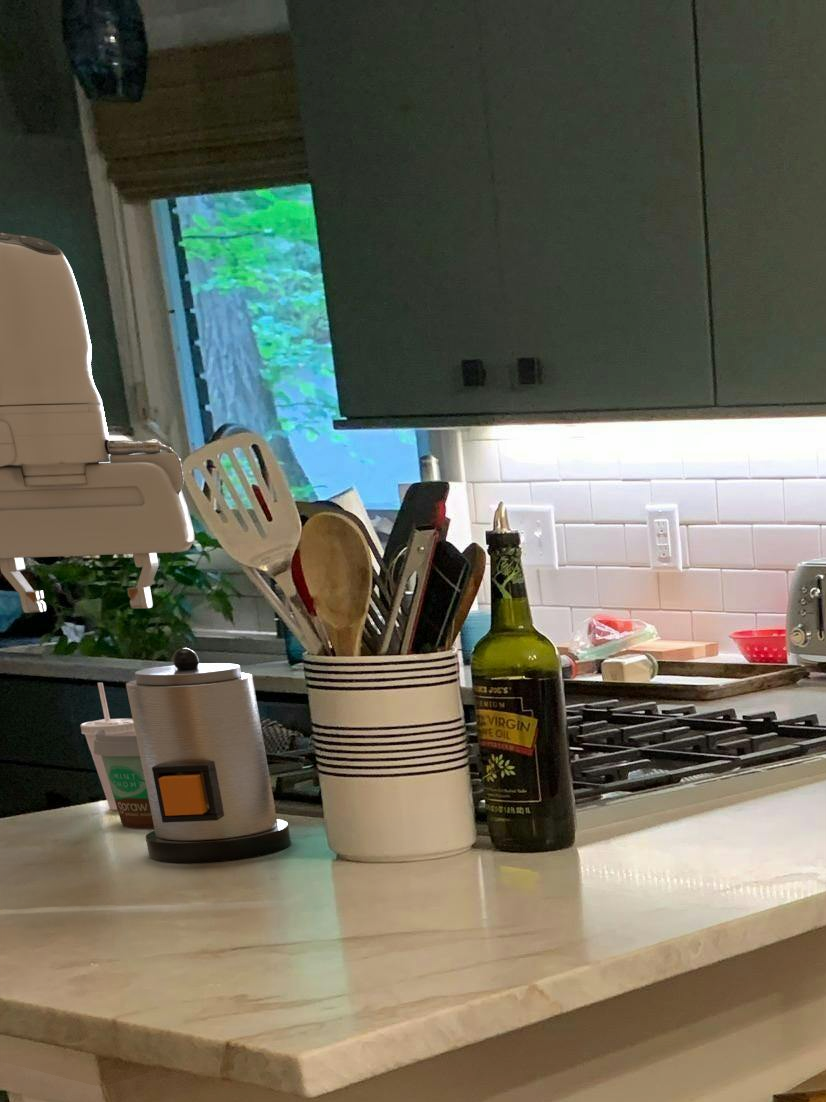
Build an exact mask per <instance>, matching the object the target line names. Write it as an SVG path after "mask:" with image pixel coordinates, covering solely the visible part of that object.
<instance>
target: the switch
mask: <svg viewBox="0 0 826 1102" xmlns="http://www.w3.org/2000/svg"><path fill="white" fill-rule="evenodd" d="M159 784H160V790H161V795H162V800H163V805H164V810H165V815H166V816H172V815H196V814H203V813H205V812H207V811H208V810H207V805H206V799H205V794H204V788H203V783H202V778H201V774H193V775H169V776H163V777H161V778H159Z"/></svg>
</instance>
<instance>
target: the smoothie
mask: <svg viewBox="0 0 826 1102" xmlns="http://www.w3.org/2000/svg"><path fill="white" fill-rule="evenodd" d="M97 688H98V692H99V698H100V702H101V707H102V708H101V709H102V712H103V717H104V718H102V719H97V720H92V721H91V720H90V721H86V722H82V723H81V724H80V731H81V733H80V734H82V735H84V736H85V739H86V743H87V745H88V749H89V751H90V755H91V757H92V760H93V763H94V766H95V769H96V772H97V776H98V779H99V781H100V783H101V787H102V790H103V793H104V796H105V798H106V799H105V800H106V801H107V804H108V808H109V810H111V811H118V810H117V806H116V803H115V800H114V796H113V793H112V790H111V787H110V783H109V780H108V777H107V773H106V770H105V767H104V763H103V760H102V757H101V755H97V754H94V738H96V735H95V732H97V731H99V730H103V729H104V731H105V734H106V736H136V733H135V728H134V723H133V718H111V716H110V713H109V707H108V702H107V699H106V698H107V697H106V692H105V687H104V683H103V682H97Z"/></svg>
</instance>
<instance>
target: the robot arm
mask: <svg viewBox="0 0 826 1102" xmlns="http://www.w3.org/2000/svg"><path fill="white" fill-rule="evenodd" d="M90 338H91V337H90V333H89V327H88V323H87V319H86V314H85V310H84V306H83V301H82V297H81V294H80V290H79V287H78V284H77V281H76V278H75V275H74V273H73V269H72V267H71V265H70V263H69V260H68V259H67V258H66V256H65V254H64V252H63V251H62V250H61V249H60V247H58V246H56V245H55V244H53V243H52V242H50V241H48V240H45V239H43V238H38V237H34V236H29V235H21V234H12V233H6V232H0V572H1V574H2V575H3V577H4V578H5V579H6V580H7V581H8V583H9V584H10V585H11V586H12V587H13V589H14V590H15V591H16V592H17V593H18V595H19V598H20V599H19V600H20V602H21V609H22V610H23V613H25V614H30V613H31V614H33V613H43V612H46V611H47V603H46V602H45V601H44V600H45V595H44V590H41V589H40V590H39V589H33V588H32V585H30V583H29V582H28V580H27V579H26V578H25V576H24V575H23V574H22V573H21V571H25V570H26V565H25V558H50V557H52V558H53V557H54V558H55V557H56V558H57V557H78V556H79V557H81V556H107V555H108V556H109V555H110V556H111V555H133V561H134V566H135V567H136V568H141V571H140V573H139V578H138V580H137V583H136V586H131V587H128V588H126V590H127V595H128V598H130V600H129V605H130V608H131V610H135V609H136V610H138V609H140V610H142V609H151V608H153V606H154V601H153V597H152V592H151V591H152V590H151V586H152V585H153V583H154V579H155V577H156V574H157V571H158V568H159V566H160V565H159V564H160V563H159V560H158V554H165V553H167V554H169V553H183V552H187V551H189V550H190V549H191V547H192V545H193V544H194V542H195V539H196V536H195V531H194V526H193V522H192V518H191V515H190V511H189V507H188V504H187V501H186V497H185V495H184V492H183V488H184V485H185V477H183V476H184V471H183V464H182V462H181V458H180V456H179V455H178V454H177V451H175V450H174V449H173V448H172V447H170V446H168V445H166V444H162V443H161V441H160V440H158V439H143V440H110V437H109V432H108V426H107V422H106V417H105V411H104V406H103V400H102V398H101V395H100V393H99V391H98V389H97V387H96V385H95V382H94V381H95V380H94V379H93V375H92V374H93V373H92V365H91V364H92V363H91V362H92V343H91V339H90ZM163 451H166V452H167V453H165V452H164V453H162V452H163Z"/></svg>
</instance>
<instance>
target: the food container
mask: <svg viewBox="0 0 826 1102" xmlns="http://www.w3.org/2000/svg"><path fill="white" fill-rule="evenodd" d="M95 735H96V738H94V754H97V755H101V757H102V760H103V763H104V767H105V770H106V773H107V777H108V780H109V783H110V787H111V790H112V793H113V796H114V800H115V803H116V806H117V810H116V811H117V813H118V816H119V819H120V823H121V825H122V827H125V828H128V829H143V830H144V829H146V830H147V829H154V824H153V819H152V814H151V809H150V804H149V799H148V794H147V789H146V783H145V778H144V773H143V768H142V763H141V758H140V753H139V748H138V743H137V738H136V736H106V734H105V731H104V729H103V730H99V731H97V732H95Z"/></svg>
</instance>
